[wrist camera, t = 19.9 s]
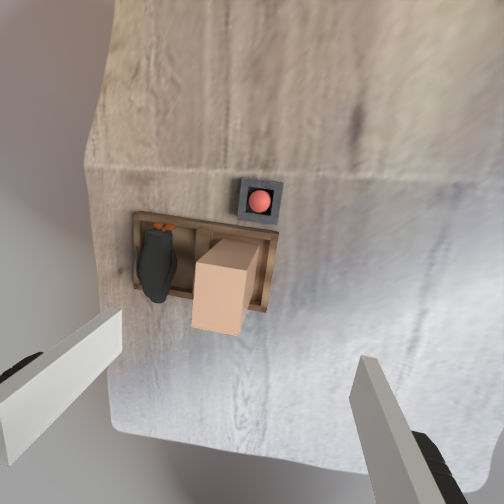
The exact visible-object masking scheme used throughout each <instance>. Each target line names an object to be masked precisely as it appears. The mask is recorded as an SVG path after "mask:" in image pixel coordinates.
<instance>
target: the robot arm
mask: <svg viewBox="0 0 504 504" xmlns="http://www.w3.org/2000/svg"><path fill="white" fill-rule="evenodd" d="M121 352H122V310H121V309H116V308H111V307H108V308H107V309H105V310H104V311H103V312H101V313H100V314H98V315H97V316H96V317H94V318H93V319H91V320H90V321H89V322H87V323H86V324H84V325H83V326H81V327H80V328H79V329H77V330H76V331H74V332H73V333H72V334H70V335H69V336H67V337H66V338H65V339H63V340H62V341H60V342H59V343H58V344H56V345H55V346H53V347H52V348H50V349H49V350H48V351H46V352H45V353H43V352H38V353H36V354H33V355H31V356H29V357H26V358H24V359H23V360H21V361H20V362H19V363H17V364H16V365H14V366H13V367H12V368H10V369H8V370H7V371H5V372H4V373H2V375H0V465H4V466H8V467H10V466H11V465H12V464H13V463H14V462H15V461H16V459H17V458H18V457H19V456H20V455H21V454H22V453H23V452H24V451H25V450H26V449H27V448H28V447H29V446H30V445H31V444H32V443H33V442H34V441H35V440H36V439H37V438H38V437H39V436H40V435H41V434H42V433H43V432H44V431H45V430H46V429H47V428H48V427H49V426H50V424H52V422H54V421H55V420H56V419H57V417H58V416H59V415H60V414H61V413H62V412H63V411H64V410H65V409H66V408H67V407H68V406H69V405H70V404H71V403H72V402H73V401H74V400H75V399H76V398H77V397H78V396H79V395H80V394H81V393H82V392H83V391H84V390H85V389H86V388H87V387H88V386H89V385H90V384H91V382H92V381H93V380H95V378H96V377H97V376H98V375H99V374H100V373H101V372H102V371H103V370H104V369H105V368H106V367H107V366H108V365H109V364H110V363H111V362H112V361H113V360H114V359H115V358H116V357H117V356H118V355H119V354H120V353H121ZM349 401H350V405H351V408H352V412H353V416H354V420H355V423H356V427H357V431H358V435H359V439H360V442H361V446H362V450H363V454H364V457H365V461H366V465H367V469H368V472H369V476H370V480H371V484H372V487H373V491H374V495H375V499H376V503H377V504H468V503H467V501H466V499H465V497H464V496H463V494H462V492H461V490H460V488H459V486H458V485H457V483H456V481H455V479H454V478H453V477H452V474H451V472H450V470H449V468H448V466H447V465H446V464H445V461H444V459H443V457H442V455H441V453H440V452H439V450H438V448H437V447H436V445H435V444H434V443H433V442H432V441H431V440H430V439H429V438H428V437H427V435H426V434H424V433H420V432H415V431H411V430H410V428H409V426H408V424H407V421H406V419H405V417H404V415H403V413H402V411H401V409H400V407H399V405H398V403H397V400H396V398H395V396H394V394H393V392H392V390H391V388H390V386H389V384H388V382H387V380H386V377H385V375H384V373H383V371H382V369H381V367H380V365H379V363H378V361H377V359H376V358H372V357H367V356H362V355H361V357H360V361H359V364H358V368H357V371H356V375H355V378H354V382H353V386H352V389H351V393H350V396H349Z"/></svg>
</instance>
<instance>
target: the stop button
mask: <svg viewBox="0 0 504 504" xmlns="http://www.w3.org/2000/svg"><path fill="white" fill-rule="evenodd" d="M270 204H271V196H270V194H269V193H268V192H267V191H265V190H258V191H255V192H253V193H252V194H251V196H250V198H249V205H250V207H251V209H252V210H254V211H255V212H263V211H265V210H267V209H268V207H269V206H270Z"/></svg>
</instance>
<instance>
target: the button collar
mask: <svg viewBox="0 0 504 504" xmlns="http://www.w3.org/2000/svg"><path fill="white" fill-rule="evenodd" d="M283 185H284V183H282V182H275V181H267V180H260V179H252V178H243V177H242V179H241V188H240V197H239V206H238V215H237V219H241V220H248V221H255V222H262V223H268V224H275V225H277V223H278V217H279V211H280V204H281V198H282V191H283ZM251 187H256V188H263V189H271V190H274V196H273V203H272V209H271V214H269V213H263V212H255V211H249V210H248V207H249V198H250V190H251Z"/></svg>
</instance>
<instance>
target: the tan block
mask: <svg viewBox="0 0 504 504" xmlns="http://www.w3.org/2000/svg"><path fill="white" fill-rule="evenodd" d="M258 251H259V244H255V243H248V242H242V241H236V240H229V239H222V240H221V241H219V242H218V243H217V244H216V245H215V246H214V247H213V248H212V249H210V250H209V251H208V252H207V253H206V254H205V255H204V256H203V257H201V258H200V259H199V260H198V261H197V262H196V270H195V284H194V298H193V312H192V326H191V327H194V328H199V329H204V330H210V331H215V332H220V333H225V334H230V335H236V336H239V333H240V330H241V327H242V324H243V321H244V318H245V315H246V312H247V309H248V306H249V303H250V300H251V297H252V294H253V287H254V280H255V273H256V266H257V259H258Z"/></svg>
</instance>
